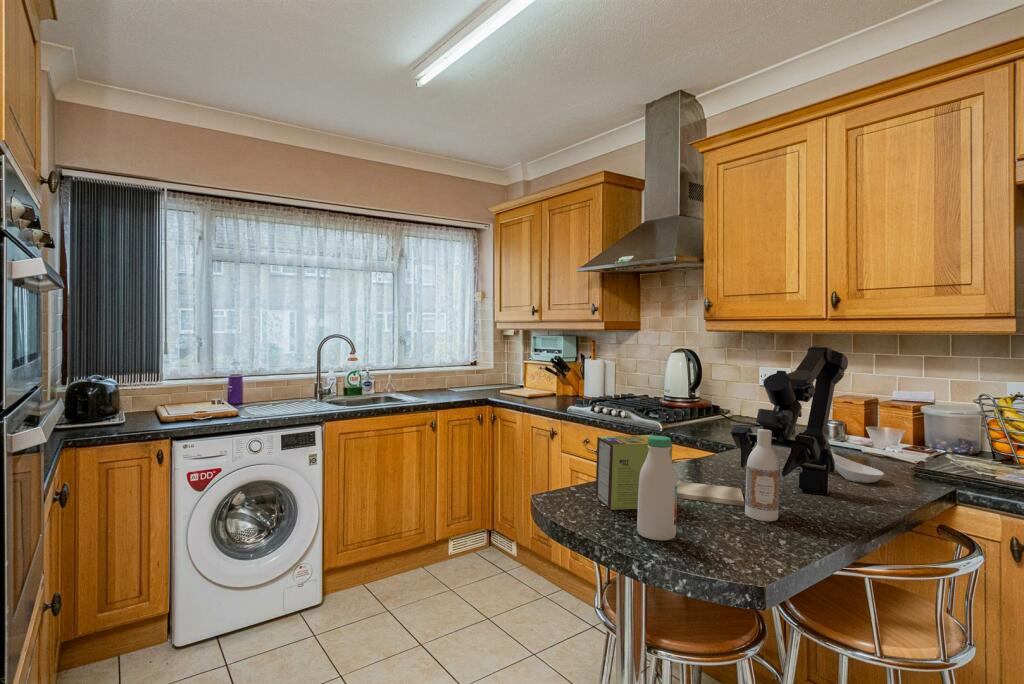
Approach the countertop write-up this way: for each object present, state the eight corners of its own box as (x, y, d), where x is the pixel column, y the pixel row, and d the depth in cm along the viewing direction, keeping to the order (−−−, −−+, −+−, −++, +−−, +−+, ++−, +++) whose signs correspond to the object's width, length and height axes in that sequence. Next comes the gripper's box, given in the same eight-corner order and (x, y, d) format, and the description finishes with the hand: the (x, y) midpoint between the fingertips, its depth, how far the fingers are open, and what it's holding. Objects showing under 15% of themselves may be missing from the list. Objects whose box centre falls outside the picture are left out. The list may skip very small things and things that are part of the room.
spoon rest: (888, 482, 159) (889, 458, 159) (877, 489, 151) (878, 463, 151) (802, 466, 177) (803, 444, 177) (788, 471, 169) (789, 448, 169)
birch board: (740, 492, 143) (740, 488, 143) (744, 506, 132) (744, 501, 132) (676, 485, 148) (677, 481, 148) (675, 497, 137) (675, 493, 137)
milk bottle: (669, 544, 106) (673, 442, 106) (631, 535, 110) (634, 437, 110) (680, 533, 112) (683, 436, 112) (643, 525, 117) (647, 432, 116)
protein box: (671, 508, 129) (673, 442, 129) (610, 510, 126) (612, 443, 125) (651, 494, 139) (653, 434, 139) (594, 496, 136) (596, 435, 136)
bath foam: (746, 519, 122) (749, 431, 122) (743, 510, 129) (746, 426, 128) (780, 523, 120) (784, 433, 120) (775, 514, 126) (778, 428, 126)
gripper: (735, 392, 134) (711, 442, 127) (818, 401, 120) (796, 457, 113) (748, 421, 139) (726, 470, 132) (828, 433, 126) (809, 488, 118)
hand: (762, 471), depth 124 cm, fingers open, 9 cm apart
